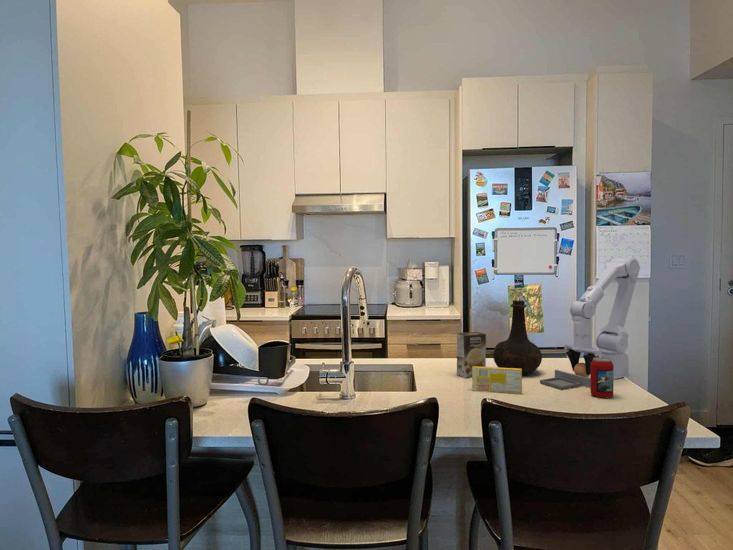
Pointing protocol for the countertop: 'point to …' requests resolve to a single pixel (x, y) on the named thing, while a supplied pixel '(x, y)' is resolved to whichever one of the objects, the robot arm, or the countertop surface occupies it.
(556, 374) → the low fence
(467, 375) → the coffee box
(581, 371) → the ball
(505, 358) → the glass bottle
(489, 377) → the candy box
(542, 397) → the countertop surface
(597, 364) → the beverage can
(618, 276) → the robot arm
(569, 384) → the charcoal dish
